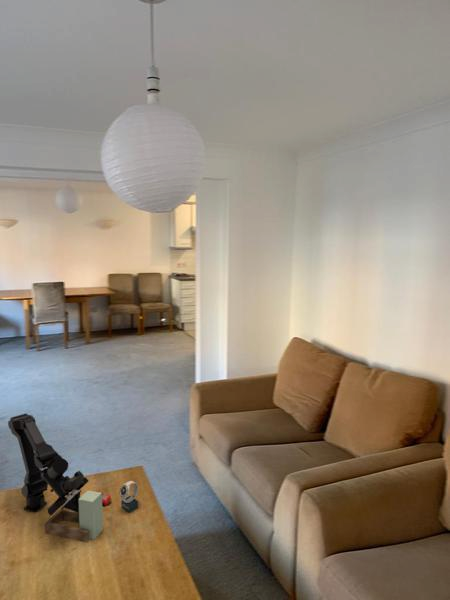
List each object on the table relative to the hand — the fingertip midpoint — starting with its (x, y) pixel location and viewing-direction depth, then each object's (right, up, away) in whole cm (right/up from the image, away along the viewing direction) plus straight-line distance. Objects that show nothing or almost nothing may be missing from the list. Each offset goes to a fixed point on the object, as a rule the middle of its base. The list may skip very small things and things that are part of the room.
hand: (83, 512), depth 161 cm
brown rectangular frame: (-4, -7, +2) cm, 9 cm away
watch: (+14, -6, +16) cm, 22 cm away
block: (+3, -8, 0) cm, 8 cm away
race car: (-1, -6, +20) cm, 21 cm away
